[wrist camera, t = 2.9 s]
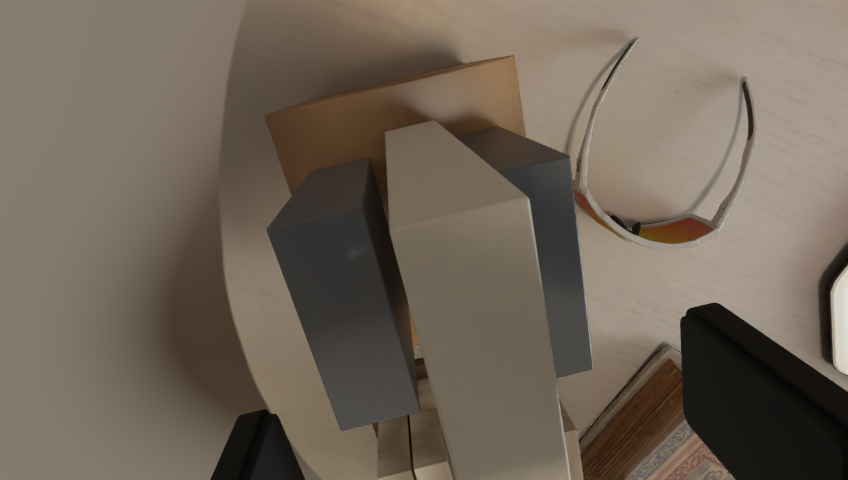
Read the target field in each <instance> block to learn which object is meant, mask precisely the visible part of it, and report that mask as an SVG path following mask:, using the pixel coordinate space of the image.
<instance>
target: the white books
mask: <svg viewBox="0 0 848 480" xmlns="http://www.w3.org/2000/svg"><path fill="white" fill-rule="evenodd" d="M415 367H416V376H417V384H418V393H419V402H420V412H417V413H413V414H409V415H405V416H401V417H397V418H393V419H389V420H385V421H381V422H376V423H372V424H373V427H374V430H375V433H376V436H377V439H378V480H456V478H455V474H454V470H453V467H452V463H451V459H450V456H449V452H448V448H447V444H446V441H445V437H444V433H443V429H442V426H441V422H440V418H439V415H438V411H437V407H436V403H435V400H434V396H433V392H432V389H431V385H430V381H429V377H428V374H427V370H426V366H425V362H424V359H419V360H415ZM559 402H560V409H561V415H562V422H563V429H564V435H565V442H566V449H567V456H568V462H569V469H570V476H571V480H584V479H583V471H582V464H581V457H580V449H579V442H578V435H577V429H576V427H575V425H574V424H573V422H572V420H571V418H570V416H569V415H568V413H567V411H566V409H565V407H564V405H563V404H562V402H561V400H560V398H559Z"/></svg>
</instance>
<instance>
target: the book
mask: <svg viewBox="0 0 848 480" xmlns="http://www.w3.org/2000/svg"><path fill="white" fill-rule="evenodd" d="M579 449H580V457H581V464H582V471H583V479H584V480H735V478H734V477H733V476H732V475H731V474H730V473H729V472H728V470H727V469H726V468H725V467H724V466H723V465H722V463H721V462H720V461H719V460H718V459H717V458H716V456H715V455H714V454H713V453H712V452H711V451H710V449H709V448H708V447H707V446H706V445H705V444H704V443H703V441H702V440H701V439H700V438H699V437H698V436H697V434H696V433H695V432H694V431H693V430H692V429H691V427H690V426H689V425H688V423H687V421H686V419H685V416H684V413H683V395H682V362H681V353H680V352H678V351H677V350H675V349H673V348H672V347H670V346H669V345H666V346H664V347H663V348H662V349H661V350H660V351H659V352H658V353H657V354H656V355H655V356H654V357H653V358H652V359H651V360H650V361H649V363H648V364H647V365H646V366H645V367H644V368H643V369H642V370H641V371H640V373H639V374H638V375H637V376H636V377H635V378H634V379H633V380H632V381H631V383H630V384H629V385H628V386H627V387H626V388H625V389H624V390H623V391H622V392H621V394H620V395H619V396H618V397H617V398H616V399H615V400H614V401H613V402H612V404H611V405H610V406H609V407H608V408H607V409H606V410H605V411H604V412H603V414H602V415H601V416H600V417H599V418H598V420H597V421H596V422H595V423H594V425H593V426H592V427H591V428H590V430H589V431H588V432H587V433H586V435H585V436H584V437H583V438H582V440H581V441H580V442H579Z"/></svg>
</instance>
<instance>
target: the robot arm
mask: <svg viewBox="0 0 848 480" xmlns="http://www.w3.org/2000/svg"><path fill="white" fill-rule="evenodd" d="M680 329H681V362H682V395H683V413H684V416H685V419H686V421H687V423H688V425H689V426H690V427H691V429H692V430H693V431H694V432H695V433H696V434H697V436H698V437H699V438H700V439H701V440H702V441H703V443H704V444H705V445H706V446H707V447H708V448H709V449H710V451H711V452H712V453H713V454H714V455H715V456H716V458H717V459H718V460H719V461H720V462H721V463H722V465H723V466H724V467H725V468H726V469H727V470H728V472H729V473H730V474H731V475H732V476H733V477H734V478H735V480H848V392H847V391H846V390H844V389H843V388H841V387H840V386H838V385H837V384H836V383H834V382H833V381H831V380H830V379H828V378H827V377H825V376H824V375H822V374H821V373H819V372H818V371H817V370H815V369H814V368H812V367H811V366H809V365H808V364H806V363H805V362H803V361H802V360H801V359H799V358H798V357H796V356H795V355H793V354H792V353H790V352H789V351H787V350H786V349H785V348H783V347H782V346H780V345H779V344H777V343H776V342H774V341H773V340H771V339H770V338H769V337H767V336H766V335H764V334H763V333H761V332H760V331H758V330H757V329H755V328H754V327H753V326H751V325H750V324H748V323H747V322H745V321H744V320H742V319H741V318H739V317H738V316H736V315H735V314H734V313H732V312H731V311H729V310H728V309H726V308H725V307H723V306H722V305H720V304H718V303H710V304H706V305H702V306H697V307H693V308H690V309H688V310H687V312H686V316H684V317H682V318H681V322H680ZM211 480H305V478H304V476H303V474H302V471H301V469H300V467H299V464H298V462H297V459H296V457H295V455H294V452H293V451H292V448H291V445H290V443H289V441H288V438H287V436H286V433H285V431H284V429H283V426H282V424H281V422H280V419H279V417H278V416H277V415H276V414H271V415H270V413H269V412H268V411H267V410H265V409H264V410H260V411H255V412H251V413H247V414H243V415H240V416H239V417H238V419H237V420H236V423H235V425H234V427H233V430H232V432H231V434H230V436H229V439H228V441H227V443H226V445H225V448H224V450H223V452H222V455H221V457H220V459H219V461H218V464H217V466H216V468H215V471H214V473H213V475H212V477H211Z"/></svg>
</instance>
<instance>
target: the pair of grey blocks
mask: <svg viewBox="0 0 848 480" xmlns="http://www.w3.org/2000/svg"><path fill="white" fill-rule="evenodd" d="M455 137H456V138H457V139H458V140H459V141H461V142H462V143H463V144H464V145H465V146H467V147H468V148H469V149H470V150H472V151H473V152H474V153H475V154H476V155H478V156H479V157H480V158H481V159H483V160H484V161H485V162H486V163H487V164H489V165H490V166H491V167H492V168H493V169H495V170H496V171H497V172H498V173H500V174H501V175H502V176H503V177H504V178H506V179H507V180H508V181H509V182H510V183H512V184H513V185H514V186H515V187H517V188H518V189H519V190H520V191H521V192H523V193H524V194H525V195H526V196H528V198H529V200H530V207H531V213H532V220H533V227H534V234H535V240H536V247H537V254H538V261H539V267H540V274H541V281H542V287H543V294H544V301H545V308H546V314H547V321H548V328H549V335H550V341H551V348H552V355H553V361H554V368H555V375H556V378H559V377H563V376H567V375H571V374H576V373H580V372H584V371H588V370H592V369H593V359H592V350H591V341H590V332H589V323H588V314H587V305H586V297H585V288H584V279H583V270H582V261H581V252H580V243H579V234H578V225H577V217H576V208H575V199H574V190H573V181H572V172H571V163H570V157H569V156H568V155H566V154H564V153H561V152H559V151H557V150H554V149H552V148H549V147H547V146H545V145H542V144H540V143H538V142H535V141H533V140H530V139H528V138H526V137H523V136H521V135H519V134H516V133H514V132H511V131H509V130H507V129H504V128H502V127H500V126H496V127H492V128H488V129H484V130H480V131H476V132H471V133H467V134H463V135H459V136H455ZM267 233H268V235H269V238H270V241H271V243H272V246H273V249H274V251H275V254H276V257H277V260H278V262H279V265H280V268H281V270H282V273H283V276H284V279H285V281H286V284H287V287H288V289H289V292H290V295H291V297H292V300H293V303H294V306H295V308H296V311H297V314H298V316H299V319H300V322H301V324H302V327H303V330H304V333H305V335H306V338H307V341H308V343H309V346H310V349H311V352H312V354H313V357H314V360H315V362H316V365H317V368H318V370H319V373H320V376H321V379H322V381H323V384H324V387H325V389H326V392H327V395H328V397H329V400H330V403H331V406H332V408H333V411H334V414H335V416H336V419H337V422H338V425H339V427H340V430H341V431H344V430H348V429H352V428H356V427H360V426H364V425H368V424H372V423H376V422H381V421H385V420H389V419H393V418H397V417H401V416H405V415H409V414H413V413H417V412H420V402H419V393H418V384H417V376H416V367H415V358H414V350H413V341H412V332H411V323H410V315H409V306H408V299H407V295H406V292H405V288H404V284H403V281H402V277H401V273H400V269H399V266H398V262H397V258H396V254H395V251H394V247H393V243H392V240H391V236H390V231H389V227H388V224H387V220H386V216H385V212H384V209H383V205H382V201H381V197H380V194H379V190H378V186H377V183H376V179H375V175H374V171H373V168H372V164H371V160H370V158H364V159H360V160H356V161H352V162H348V163H343V164H339V165H335V166H331V167H327V168H323V169H319V170H315V171H311V172H310V173H309V174H308V176H307V177H306V178H305V179H304V181H303V182H302V183H301V185H300V186H299V187H298V189H297V190H296V191H295V193H294V194H293V195H292V197H291V198H290V199H289V201H288V202H287V203H286V205H285V206H284V207H283V208H282V210H281V211H280V212H279V214H278V215H277V216H276V218H275V219H274V220H273V222H272V223H271V224H270V226H269V227H268V228H267Z"/></svg>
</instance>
